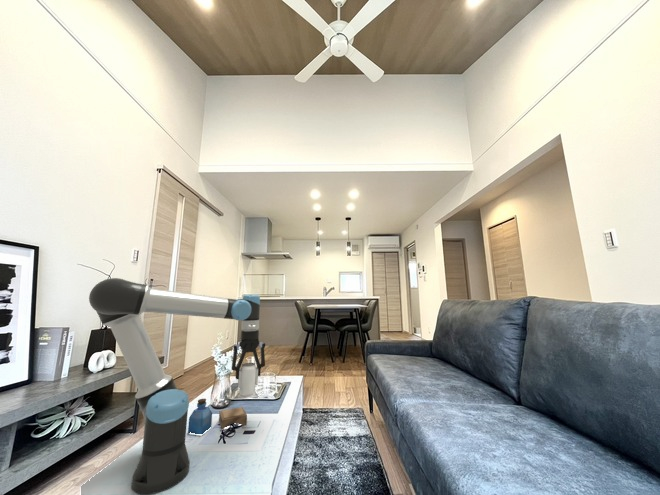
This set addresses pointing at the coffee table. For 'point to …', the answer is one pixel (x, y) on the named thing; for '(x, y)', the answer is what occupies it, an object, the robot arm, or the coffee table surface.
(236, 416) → the plinth
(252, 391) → the can
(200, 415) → the perfume bottle
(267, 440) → the coffee table surface
